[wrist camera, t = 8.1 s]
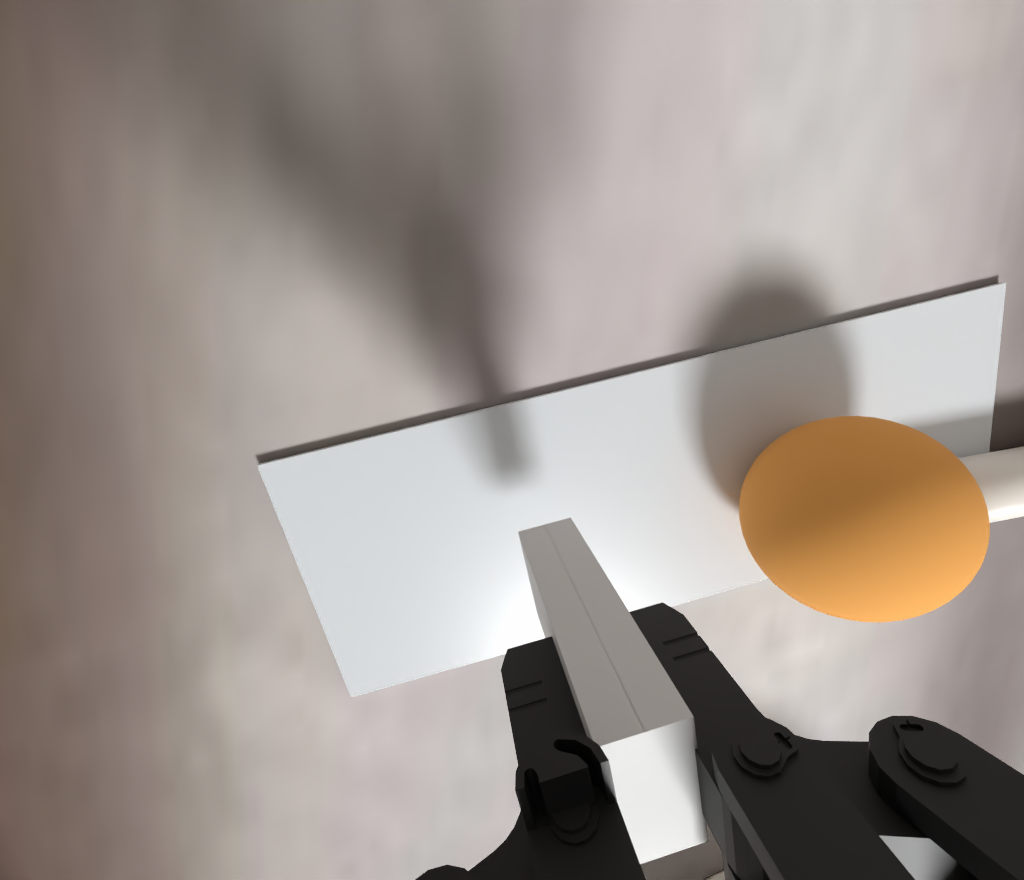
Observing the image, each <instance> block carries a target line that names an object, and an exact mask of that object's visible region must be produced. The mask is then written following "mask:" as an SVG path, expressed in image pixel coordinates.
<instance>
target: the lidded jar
mask: <svg viewBox="0 0 1024 880" xmlns="http://www.w3.org/2000/svg"><path fill="white" fill-rule="evenodd" d="M705 880H725V874H724V870H723V871H721V872H719V873H716V874H714V875H712V876H711V877H709V878H707V879H705Z"/></svg>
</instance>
